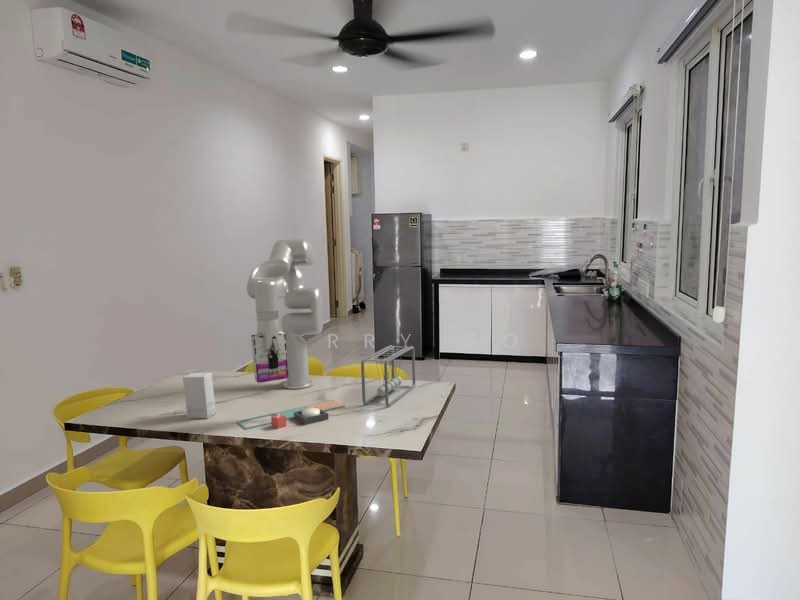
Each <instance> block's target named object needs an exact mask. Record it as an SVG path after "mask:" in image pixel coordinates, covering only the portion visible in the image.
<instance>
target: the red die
mask: <svg viewBox="0 0 800 600" xmlns="http://www.w3.org/2000/svg"><path fill="white" fill-rule="evenodd" d="M270 422H271V424H270V425H271V427H272V428H274V429H278V430H279V429H282V428H284V427H286V426H287V420H286V416H284V415H281V414H278V415H271V417H270Z"/></svg>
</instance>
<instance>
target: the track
mask: <svg viewBox="0 0 800 600" xmlns="http://www.w3.org/2000/svg"><path fill="white" fill-rule="evenodd" d="M329 401H330V400H328V401H325V402H329ZM331 401H335V400H332V399H331ZM325 402H324V401H323V402H322V403H325ZM320 403H321V402H318V403H315V404H313V405H316V404H320ZM311 405H312V404H310V405H308V406H311ZM306 406H307V405H306ZM306 406H300V407H296V408H292V409H287V410H282V411H277V412H272V413H267V414H263V415H257V416H253V417H249V418H245V419H239V420H236V422H235V423H236V424H238V425H239V426H241V427H242V428H243V429H244V430H250V429H254V428H260V427H264V426H267V425H272V424H271V421H269V422H265V423H260V424H255V425H252V426H246V425H245V424H243V422H248V421H251V420H252V421H253V420H257V419H260V418H265V417H269V416H275V415H278V414H281V415H284V416H286V421H290V420H293V419H294V412H297V411H302V410H304V409H307V408H306ZM345 407H346V405H344V406H342V407H337V408H333V409H328V410H324V411H325V412H329V411H334V410H337V409H342V408H345Z"/></svg>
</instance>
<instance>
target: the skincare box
mask: <svg viewBox="0 0 800 600" xmlns="http://www.w3.org/2000/svg"><path fill="white" fill-rule="evenodd" d="M182 381H183V390H184V398H185V399H184V400H185V405H186V406H185V407H186V415H187V417H186V418H187V419H209V418H210V417H212V416H214V415H215V414H216V413H217V412H216V409H217V408H216V401H215V392H214V383H213V381H214V380H213V373H212V372H191V373H189V374H187V375H185V376H183V377H182Z"/></svg>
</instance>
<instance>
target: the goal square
mask: <svg viewBox="0 0 800 600" xmlns="http://www.w3.org/2000/svg"><path fill="white" fill-rule="evenodd" d="M328 401H329V402H327V401H325V403H323V402H319V403H320V404H318V403H315V404H316V405H314V404H310V405H311V406H309V405H306V407H305V408H315V407H317V408H319V409H321V410H323V411H324V410H328V409H333V408H337V407H342V406H345V404H342V403H340V402H338V401H336V400H334V401H332V400H328ZM342 408H343V407H342Z"/></svg>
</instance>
